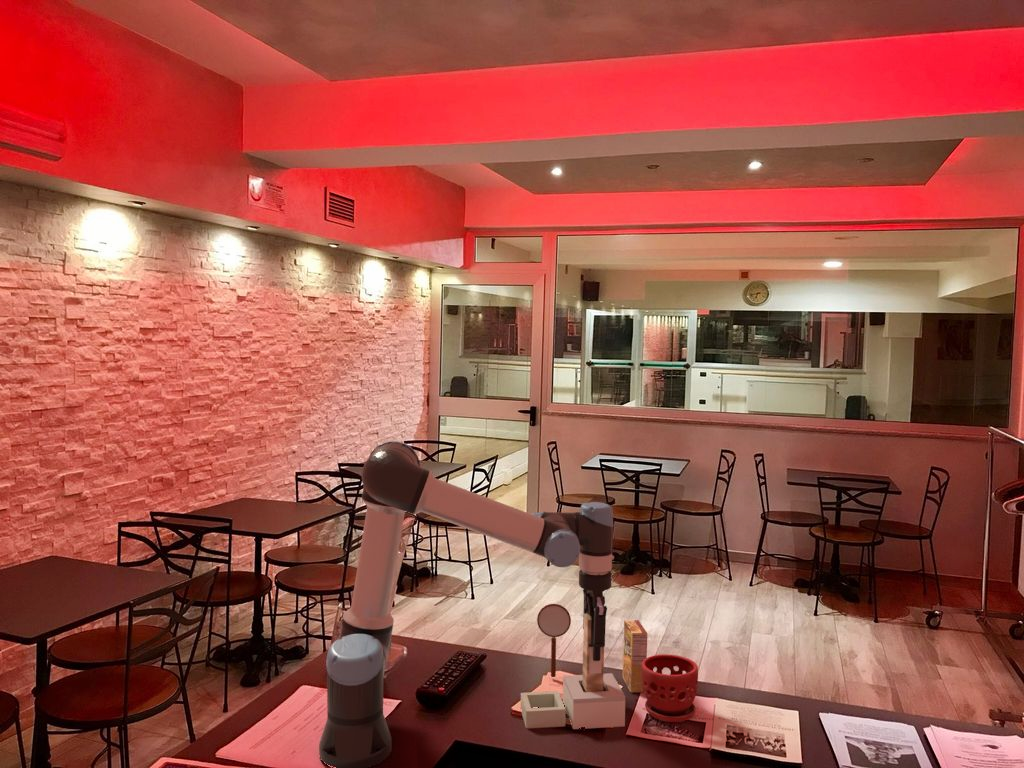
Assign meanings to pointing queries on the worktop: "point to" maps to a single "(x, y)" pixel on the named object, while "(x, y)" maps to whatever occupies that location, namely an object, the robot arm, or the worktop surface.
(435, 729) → the worktop surface
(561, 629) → the magnifying glass
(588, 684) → the wooden square peg
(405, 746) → the worktop surface
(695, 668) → the plant pot
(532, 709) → the cream square open box
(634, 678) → the candy box
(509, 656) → the worktop surface
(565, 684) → the white box with opening
